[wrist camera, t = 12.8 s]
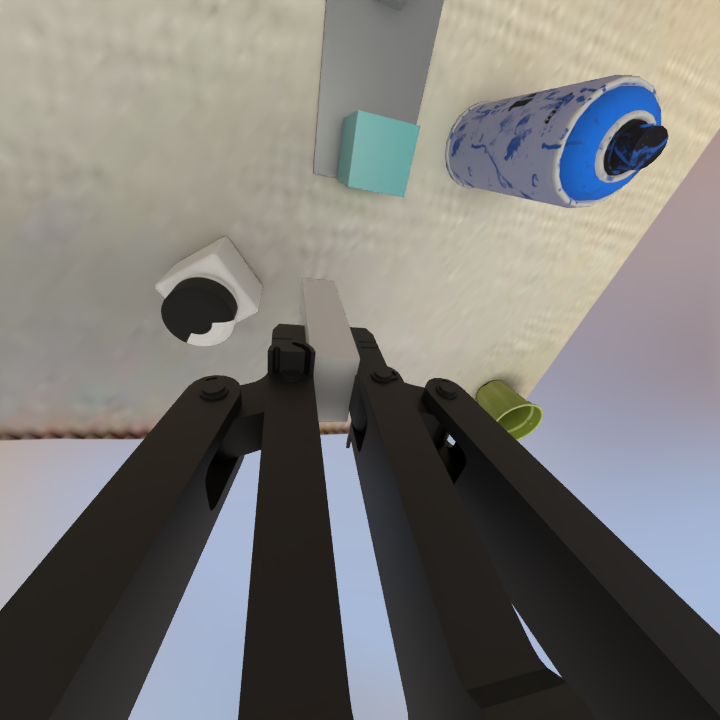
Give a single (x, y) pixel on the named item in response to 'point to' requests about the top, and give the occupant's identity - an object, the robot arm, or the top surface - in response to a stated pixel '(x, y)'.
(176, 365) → the top surface
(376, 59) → the board
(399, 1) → the grey post
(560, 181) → the aerosol can
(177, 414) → the robot arm
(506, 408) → the plant pot
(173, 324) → the medicine bottle
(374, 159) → the teal rectangular block
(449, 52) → the top surface
